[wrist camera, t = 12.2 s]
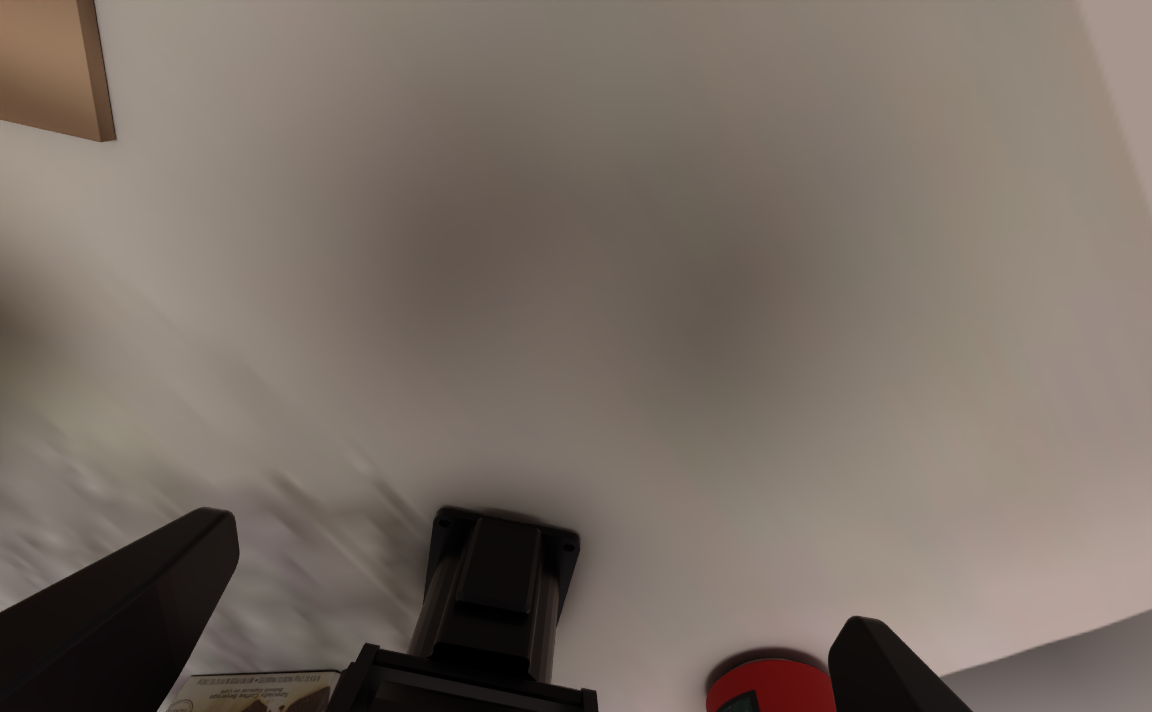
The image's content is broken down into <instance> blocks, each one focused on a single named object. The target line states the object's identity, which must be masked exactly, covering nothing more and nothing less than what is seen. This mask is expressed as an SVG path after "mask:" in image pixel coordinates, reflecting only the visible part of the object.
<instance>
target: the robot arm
mask: <svg viewBox="0 0 1152 712" xmlns="http://www.w3.org/2000/svg"><path fill="white" fill-rule="evenodd" d="M443 519H446V520H449V521H445V520H443ZM567 543H570V544H572V545H567ZM579 551H580V538H579V536H578V535H576V534H574V533H571V532H566V531H561V530H556V529H550V528H545V527H540V526H535V525H530V524H525V523H520V522H515V521H509V520H504V519H499V518H494V517H489V516H484V515H479V514H474V513H468V512H463V511H458V510H453V509H446V508H444V509H440V510H439V511H438V512H437V514H436V516H435V519H434V521H433V529H432V537H431V545H430V553H429V561H428V568H427V576H426V584H425V592H424V600H423V607H422V610H421V613H420V616H419V619H418V622H417V625H416V628H415V631H414V634H413V637H412V640H411V643H410V646H409V649H408V651H407V654H404V653H399V652H394V651H389V650H385V649H380V646H379V645H374V644H369V643H365V644H364V646H363V648H362V650H361V652H360V654H359V656H358V658H357V660H356V662H351V663H350V665H349V667H348V669H345V670H342V673H341V675H340V677H339V680H338V682H337V684H336V687H335V689H334V691H333V694H332V696H331V698H330V700H329V703H328V705H327V707H326V709H325V711H324V712H598V703H597V693H596V691H595V690H590V689H585V688H581V690H577V689H572V688H567V687H562V686H558V685H553V684H551V677H552V666H553V655H554V644H555V633H556V627H557V624H558V621H559V618H560V614H561V611H562V608H563V604H564V601H565V598H566V594H567V591H568V588H569V584H570V581H571V578H572V575H573V571H574V568H575V565H576V561H577V558H578V555H579ZM238 560H239V543H238V536H237V528H236V521H235V516H234V515H233V513H232V512H230V511H228V510H222V509H216V508H210V507H201V508H198V509H195V510H193V511H191V512H189V513H188V514H186V515H184V516H182V517H180V518H178V519H176V520H174V521H172V522H170V523H169V524H167V525H165V526H163V527H161V528H159V529H157V530H155V531H153V532H151V533H150V534H148V535H146V536H144V537H142V538H140V539H138V540H136V541H134V542H133V543H131V544H129V545H127V546H125V547H123V548H121V549H119V550H117V551H115V552H114V553H112V554H110V555H108V556H106V557H104V558H102V559H100V560H98V561H96V562H95V563H93V564H91V565H89V566H87V567H85V568H83V569H81V570H79V571H78V572H76V573H74V574H72V575H70V576H68V577H66V578H64V579H62V580H60V581H59V582H57V583H55V584H53V585H51V586H49V587H47V588H45V589H43V590H41V591H40V592H38V593H36V594H34V595H32V596H30V597H28V598H26V599H24V600H22V601H21V602H19V603H17V604H15V605H13V606H11V607H9V608H7V609H5V610H4V611H2V612H0V712H157V710H158V708H159V707H160V705H161V704H162V702H163V701H164V699H165V698H166V696H167V695H168V693H169V691H170V690H171V688H172V687H173V685H174V683H175V682H176V680H177V679H178V677H179V675H180V673H181V672H182V670H183V668H184V666H185V664H186V662H187V661H188V659H189V657H190V655H191V653H192V651H193V649H194V647H195V646H196V644H197V642H198V640H199V638H200V636H201V634H202V632H203V630H204V628H205V626H206V624H207V623H208V621H209V619H210V617H211V615H212V613H213V611H214V609H215V607H216V605H217V603H218V602H219V600H220V598H221V596H222V594H223V592H224V590H225V588H226V586H227V584H228V582H229V581H230V579H231V577H232V575H233V573H234V571H235V569H236V566H237V564H238ZM828 668H829V674H830V679H831V685H832V690H833V696H834V701H835V707H836V712H973V711H972V710H971V709H970V708H969V707H968V706H967V705H966V704H965V703H964V702H963V701H962V700H961V699H960V698H959V697H958V696H957V695H956V694H955V693H954V692H953V691H952V690H951V689H950V688H949V687H948V686H947V685H946V684H945V683H944V682H943V681H942V680H941V679H940V678H939V677H938V676H937V675H936V674H935V673H934V672H933V671H932V670H931V669H930V668H929V667H928V666H927V665H926V664H925V663H924V662H923V661H922V660H921V659H920V658H919V657H918V656H917V655H916V654H915V653H914V652H913V651H912V650H911V649H910V648H909V647H908V646H907V645H906V644H905V643H904V642H903V641H902V640H901V639H900V638H899V637H898V636H897V635H896V634H895V633H894V632H893V631H892V630H891V629H890V628H889V627H888V626H887V625H886V624H885V623H884V622H882V621H880V620H878V619H874V618H868V617H862V616H852V617H851V618H849V619H848V620H847V622H846V623H845V625H844V627H843V628H842V630H841V631H840V633H839V635H838V636H837V638H836V640H835V641H834V643H833V645H832V646H831V648H830V651H829V655H828Z"/></svg>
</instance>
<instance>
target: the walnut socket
mask: <svg viewBox="0 0 1152 712" xmlns="http://www.w3.org/2000/svg"><path fill="white" fill-rule="evenodd" d="M0 120H4V121H9V122H13V123H17V124H22V125H26V126H31V127H35V128H40V129H44V130H49V131H53V132H58V133H62V134H67V135H71V136H76V137H80V138H85V139H89V140H94V141H98V142H105V141H111V140H116V139H115V133H114V127H113V121H112V114H111V108H110V102H109V96H108V90H107V84H106V77H105V71H104V65H103V59H102V53H101V47H100V40H99V34H98V28H97V22H96V16H95V9H94V3H93V0H0Z"/></svg>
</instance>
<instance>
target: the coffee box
mask: <svg viewBox="0 0 1152 712" xmlns="http://www.w3.org/2000/svg"><path fill="white" fill-rule="evenodd" d="M339 677H340V674H339V673H337V672H310V673H281V674H253V675H224V676H194V677H190V678H189V679H188V680H187V682H186V683H185V684H184V686H183V688H182V689H181V691H180V692H179V693H178V695H177V696H176V698H175V699H174V701H173V702H172V704H171V705H170V707H169V708H168V710H167V711H166V712H324V711H325V709H326V707H327V705H328V703H329V700H330V698H331V696H332V694H333V691H334V689H335V687H336V684H337V682H338V680H339Z"/></svg>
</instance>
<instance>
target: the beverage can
mask: <svg viewBox="0 0 1152 712" xmlns="http://www.w3.org/2000/svg"><path fill="white" fill-rule="evenodd" d="M706 710H707V712H836V707H835V701H834V696H833V690H832V685H831V679H830V677H829V676H828V675H827V674H825V673H824V672H822V671H820V670H819V669H817V668H815V667H812V666H810V665H807V664H803V663H799V662H795V661H792V660H788V659H783V658H761V659H756V660H751V661H748V662H745V663H743V664H741V665H739V666H737V667H735V668H734V669H732V670H731V671H730V672H728V673H726V674H725V675H724V676H722V677H721V678H720V679H718V680H717V681H716V682H715V684H714V685H713V686H712V687H711V689H710V691H709V693H708V695H707V699H706Z"/></svg>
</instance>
